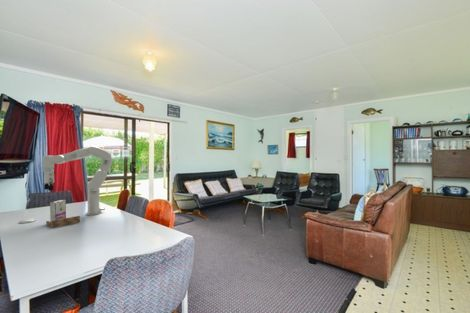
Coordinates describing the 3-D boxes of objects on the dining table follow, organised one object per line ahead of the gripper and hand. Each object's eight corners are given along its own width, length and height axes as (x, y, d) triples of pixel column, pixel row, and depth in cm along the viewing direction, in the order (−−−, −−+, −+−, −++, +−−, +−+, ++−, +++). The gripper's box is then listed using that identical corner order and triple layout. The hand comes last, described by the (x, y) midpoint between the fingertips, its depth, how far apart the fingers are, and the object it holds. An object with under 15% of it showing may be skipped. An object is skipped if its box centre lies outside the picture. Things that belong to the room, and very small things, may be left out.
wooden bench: (73, 219, 195) (73, 213, 195) (79, 222, 186) (79, 216, 186) (46, 224, 180) (46, 218, 180) (51, 227, 172) (51, 220, 172)
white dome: (33, 219, 195) (33, 217, 195) (37, 221, 189) (37, 219, 189) (18, 221, 187) (18, 220, 187) (20, 224, 181) (20, 222, 181)
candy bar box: (60, 218, 196) (60, 199, 196) (66, 219, 196) (66, 199, 196) (49, 222, 185) (49, 202, 185) (55, 222, 185) (55, 202, 185)
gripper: (57, 169, 194) (57, 189, 194) (50, 169, 204) (50, 188, 204) (46, 170, 188) (46, 191, 188) (39, 169, 198) (40, 189, 198)
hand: (48, 189), depth 196 cm, fingers open, 9 cm apart
